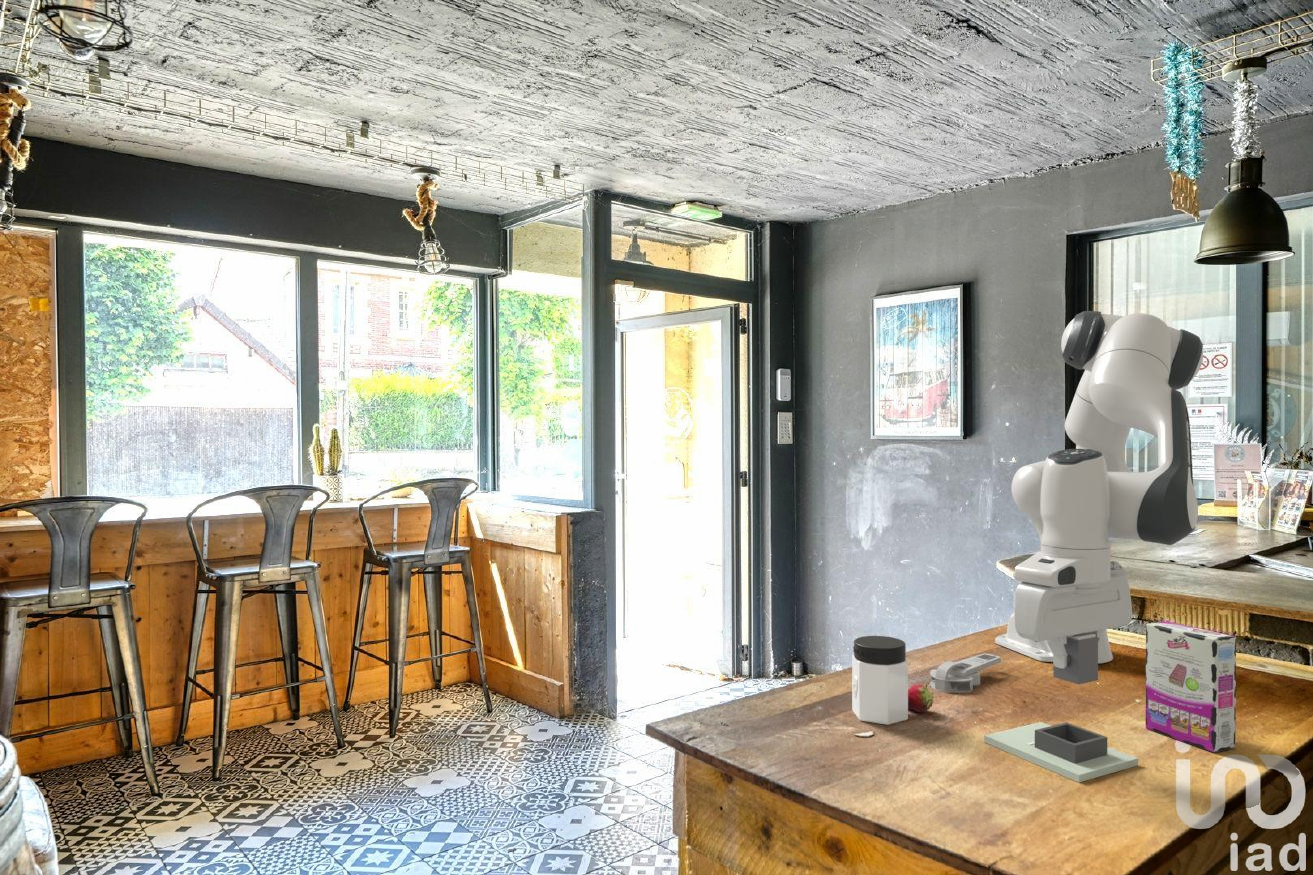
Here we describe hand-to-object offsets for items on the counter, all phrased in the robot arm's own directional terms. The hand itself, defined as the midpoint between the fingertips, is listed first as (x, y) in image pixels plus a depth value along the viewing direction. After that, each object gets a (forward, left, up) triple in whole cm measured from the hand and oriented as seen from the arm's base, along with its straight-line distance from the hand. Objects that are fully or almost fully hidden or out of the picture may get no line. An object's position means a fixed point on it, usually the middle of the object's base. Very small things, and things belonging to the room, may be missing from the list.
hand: (1075, 664), depth 123 cm
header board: (-3, 0, -13) cm, 14 cm away
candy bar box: (+2, +22, -14) cm, 26 cm away
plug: (0, 0, -2) cm, 2 cm away
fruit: (-25, -5, -14) cm, 29 cm away
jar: (-27, -12, -14) cm, 32 cm away
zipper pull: (-34, +14, -14) cm, 39 cm away
